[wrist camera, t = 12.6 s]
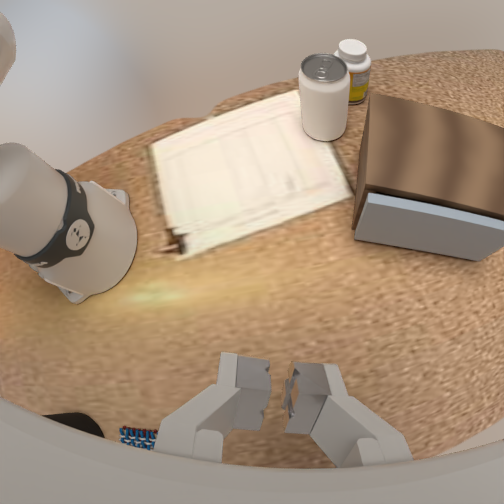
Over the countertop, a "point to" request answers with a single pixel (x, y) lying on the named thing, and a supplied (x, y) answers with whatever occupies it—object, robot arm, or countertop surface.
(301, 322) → the countertop surface
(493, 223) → the flap
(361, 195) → the crate
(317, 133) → the can
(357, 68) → the supplement bottle
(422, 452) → the countertop surface
